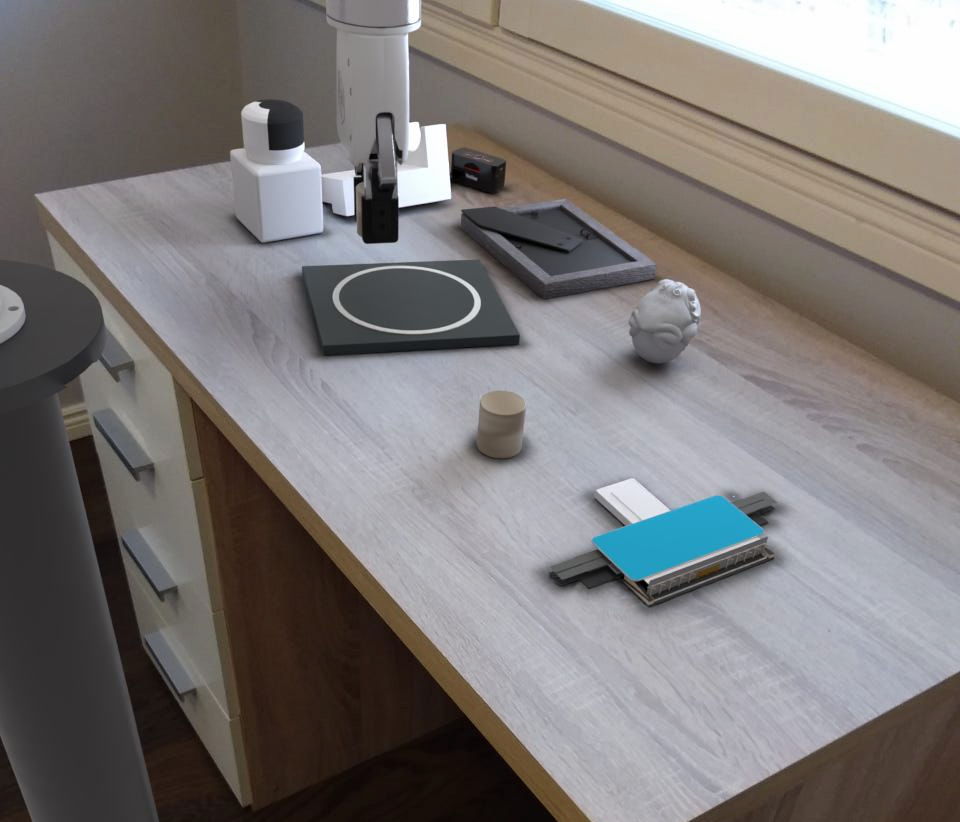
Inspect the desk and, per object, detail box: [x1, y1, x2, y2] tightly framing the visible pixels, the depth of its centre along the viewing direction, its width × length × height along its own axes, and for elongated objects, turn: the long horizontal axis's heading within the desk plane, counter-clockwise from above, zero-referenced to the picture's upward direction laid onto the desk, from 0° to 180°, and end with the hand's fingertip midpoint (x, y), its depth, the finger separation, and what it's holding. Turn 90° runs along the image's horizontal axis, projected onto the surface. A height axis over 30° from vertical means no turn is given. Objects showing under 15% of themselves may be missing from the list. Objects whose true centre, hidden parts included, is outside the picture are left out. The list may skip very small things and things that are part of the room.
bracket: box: [321, 121, 452, 217], centre depth 116 cm, size 13×7×8 cm, turn 121°
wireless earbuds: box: [449, 147, 507, 194], centre depth 123 cm, size 5×7×3 cm, turn 57°
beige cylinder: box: [476, 390, 527, 459], centre depth 83 cm, size 4×4×4 cm
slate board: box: [301, 258, 521, 356], centre depth 100 cm, size 18×16×1 cm
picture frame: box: [460, 198, 658, 300], centre depth 111 cm, size 13×2×18 cm
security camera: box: [229, 98, 324, 244], centre depth 108 cm, size 7×7×12 cm
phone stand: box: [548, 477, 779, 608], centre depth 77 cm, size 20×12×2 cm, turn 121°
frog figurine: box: [628, 278, 702, 364], centre depth 94 cm, size 6×7×7 cm
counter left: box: [356, 182, 365, 238], centre depth 94 cm, size 4×4×4 cm
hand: (376, 229), depth 96 cm, fingers closed on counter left, 3 cm apart
